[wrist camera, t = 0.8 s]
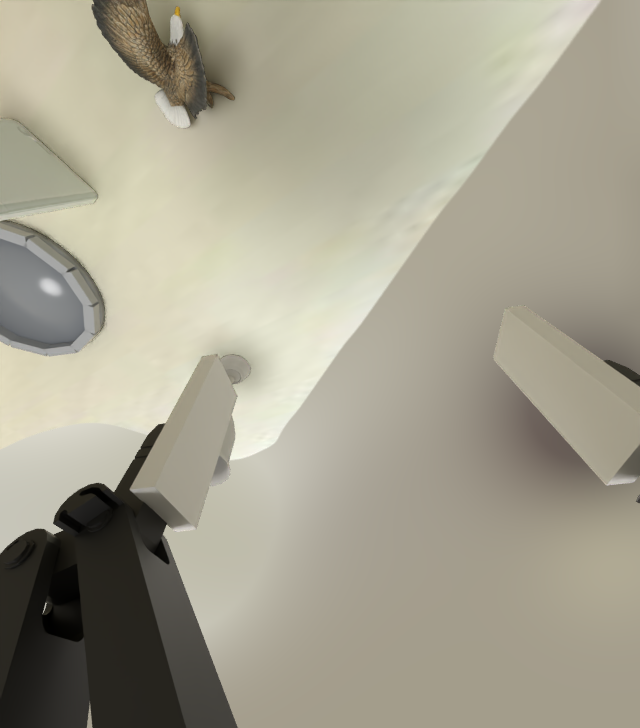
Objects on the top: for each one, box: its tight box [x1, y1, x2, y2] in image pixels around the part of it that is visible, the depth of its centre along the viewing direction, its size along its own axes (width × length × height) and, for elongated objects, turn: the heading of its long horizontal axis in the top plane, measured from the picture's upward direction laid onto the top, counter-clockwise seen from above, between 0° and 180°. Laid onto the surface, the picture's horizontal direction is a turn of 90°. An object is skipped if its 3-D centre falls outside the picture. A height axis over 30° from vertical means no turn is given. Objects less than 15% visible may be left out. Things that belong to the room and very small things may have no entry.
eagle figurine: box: [92, 0, 235, 128], centre depth 22 cm, size 8×7×9 cm
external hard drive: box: [0, 118, 98, 221], centre depth 24 cm, size 2×8×12 cm, turn 39°
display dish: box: [0, 220, 105, 356], centre depth 36 cm, size 17×17×2 cm
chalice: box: [210, 355, 251, 486], centre depth 38 cm, size 7×7×18 cm
